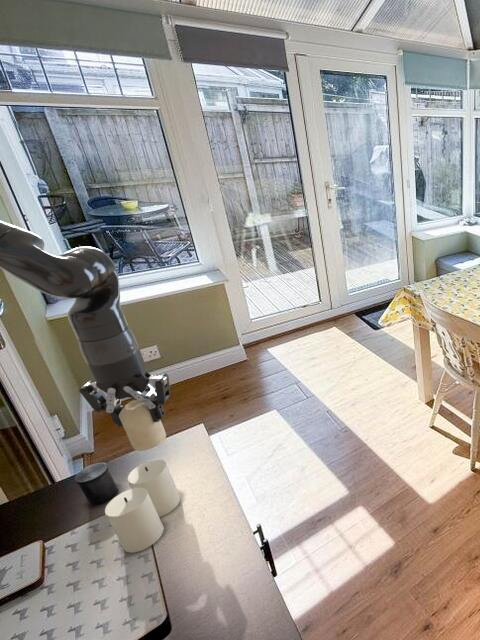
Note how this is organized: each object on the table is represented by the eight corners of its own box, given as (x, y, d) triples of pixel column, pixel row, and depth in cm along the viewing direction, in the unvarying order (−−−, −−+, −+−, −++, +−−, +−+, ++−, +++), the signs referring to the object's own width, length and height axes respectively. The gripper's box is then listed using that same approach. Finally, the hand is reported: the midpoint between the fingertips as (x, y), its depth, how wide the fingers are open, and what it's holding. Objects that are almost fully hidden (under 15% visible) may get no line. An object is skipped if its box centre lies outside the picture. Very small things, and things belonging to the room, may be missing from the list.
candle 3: (116, 555, 76) (94, 515, 72) (134, 525, 82) (115, 486, 77) (154, 549, 78) (134, 509, 73) (169, 520, 83) (152, 481, 79)
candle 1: (173, 435, 88) (158, 398, 84) (146, 454, 84) (129, 416, 80) (153, 429, 90) (138, 392, 86) (126, 447, 85) (108, 409, 81)
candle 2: (137, 521, 83) (118, 482, 78) (153, 495, 88) (136, 457, 83) (172, 515, 84) (155, 477, 79) (185, 490, 89) (170, 453, 85)
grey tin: (82, 508, 85) (68, 484, 82) (97, 488, 89) (85, 464, 86) (110, 503, 86) (97, 480, 83) (124, 484, 90) (112, 460, 87)
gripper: (166, 338, 82) (189, 404, 89) (80, 345, 79) (111, 413, 86) (145, 359, 76) (173, 429, 83) (50, 368, 73) (87, 440, 80)
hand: (141, 421), depth 84 cm, fingers closed on candle 1, 5 cm apart
